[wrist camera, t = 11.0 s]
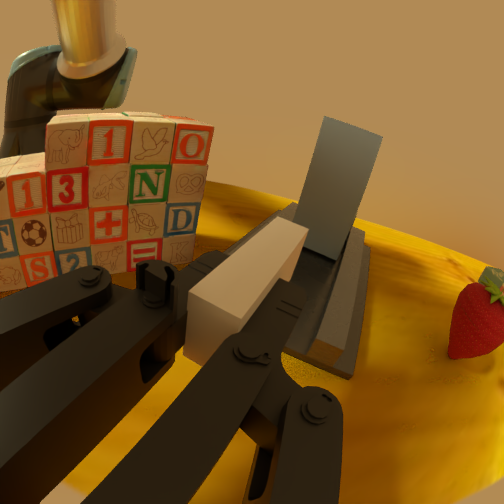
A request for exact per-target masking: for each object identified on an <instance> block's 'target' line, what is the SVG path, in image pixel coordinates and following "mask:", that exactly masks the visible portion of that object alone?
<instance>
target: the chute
mask: <svg viewBox="0 0 504 504" xmlns="http://www.w3.org/2000/svg"><path fill="white" fill-rule="evenodd" d="M297 206H298V204H296V203H294V202H292V203H291V204H290V205H288V206H287V207H286V208H285V209H283V210H282V211H281V210H278V211H277V212H275V213H274V214H273V215H271V216H270V217H269V218H267V219H266V220H265V221H263V222H262V223H261V224H259V225H258V226H257V227H256V228H254V229H253V230H252V231H250V232H249V233H248V234H246V235H245V236H244V237H243V238H241V239H240V240H239V241H237V242H236V243H235V244H234V245H232V246H231V247H230V248H228V249H227V250H226V251H225V252H223V253H224V254H226V255H228V256H231V255H232V254H233V253H234V252H235V251H237V250H238V249H239V248H240V247H241V246H243V245H244V244H245V243H246V242H247V241H249V240H250V239H251V238H252V237H253V236H255V235H256V234H257V233H258V232H259V231H261V230H262V229H263V228H264V227H265V226H267V225H268V224H269V223H270V222H271V221H273V220H274V219H275V218H276V217H281V218H283V219H286V220H288V221H291V222H293V219H294V216H295V212H296V209H297ZM356 215H357V212H356ZM356 215H355V218H356ZM355 218H354V220H355ZM354 220H353V223H354ZM353 223H352V225H353ZM352 225H351V228H350V230H349V233H348V235H347V237H346V240H345V242H344V245H343V247H342V249H341V252H340V254H339V256H338V259H337V261H336V260H334V259H332V258H329V257H327V256H325V255H322V254H320V253H318V252H315V251H313V250H311V249H308V248H306V247H304V246H303V247H302V250H301V253H300V255H299V258H298V261H297V263H296V266H295V269H294V271H293V274H292V277H291V279H290V281H289V282H290V283H292V284H294V285H297V286H299V287H301V288H303V289H305V291H306V297H307V301H306V303H305V305H304V308H303V310H302V312H301V314H300V316H299V318H298V320H297V323H296V325H295V327H294V329H293V331H292V333H291V335H290V337H289V339H288V341H287V343H286V345H285V347H284V348H283V350H282V352H284V353H287V354H289V355H291V356H293V357H295V358H298V359H300V360H302V361H304V362H307V363H309V364H311V365H313V366H316V367H318V368H320V369H323V370H325V371H328V372H330V373H332V374H335V375H337V376H340V377H342V378H345V379H347V380H349V379H350V378H351V377H352V376H353V372H354V367H355V362H356V357H357V352H358V346H359V341H360V335H361V328H362V322H363V315H364V308H365V300H366V292H367V282H368V272H369V260H370V247H368V246H365V245H364V237H365V232H364V231H362V230H360V229H358V228H355V227H353V226H352Z"/></svg>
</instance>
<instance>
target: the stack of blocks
mask: <svg viewBox="0 0 504 504" xmlns="http://www.w3.org/2000/svg"><path fill="white" fill-rule="evenodd" d="M213 132H214V126H212V125H209V124H206V123H203V122H201V121H197V120H194V119H190V118H187V117H177V116H164V115H159V114H155V113H147V112H122V114H121V113H96V114H76V115H61V116H54V117H53V118H52V119H51V120H50V122H49V123H48V124H47V125H46V137H45V152H42V153H36V154H29V155H23V156H22V155H20V156H14V157H8V158H3V159H0V292H4V291H10V290H17V289H23V288H26V287H31V286H34V285H36V284H39V283H41V282H44V281H46V280H49V279H51V278H54V277H57V276H59V275H62V274H65V273H67V272H70V271H73V270H75V269H78V268H81V267H84V266H89V265H97V266H100V267H103V268H105V269H106V270H108V271H109V273H110V274H115V273H122V272H131V271H136V263H138V262H141V261H143V260H150V259H155V260H163V261H165V262H168V263H171V264H172V265H177V264H184V263H190V262H192V259H193V251H194V245H195V238H196V228H197V222H198V216H199V210H200V205H201V200H202V197H203V192H204V186H205V182H206V176H207V170H208V164H207V161H208V156H209V151H210V147H211V142H212V137H213Z"/></svg>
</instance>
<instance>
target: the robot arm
mask: <svg viewBox="0 0 504 504" xmlns="http://www.w3.org/2000/svg"><path fill="white" fill-rule="evenodd" d="M50 1H51V7H52V11H53V16H54V21H55V25H56V29H57V33H58V37H59V41H60V45H51V46H47V47H39V48H36V49H33V50H30V51H27V52H25V53H23V54H21V55H20V56H18V57H17V58H16V59H15V60H14V62H13V63H12V66H11V70H10V75H9V78H8V86H7V95H6V106H5V122H4V135H3V139H2V143H1V147H0V159H3V158H8V157H14V156H20V155H22V156H23V155H29V154H36V153H42V152H45V137H46V125H47V124H48V123H49V122H50V120H51V119H52V118H53V117H54V116H56V112H57V110H72V109H101V110H104V109H108V108H117V107H120V106H121V105H122V103H123V102H124V100H125V97H126V94H127V91H128V88H129V84H130V81H131V77H132V74H133V69H134V66H135V62H136V58H137V50H136V49H134V48H131V47H128V48H126V41H125V38H124V37H123V36H122V34H120V33H119V32H117V31H116V0H50ZM308 230H309V229H308V228H305V227H303V226H300V225H298V224H296V223H293V222H291V221H288V220H286V219H283V218H281V217H276V218H275V219H274V220H273V221H271V222H270V223H269V224H268V225H267V226H265V227H264V228H263V229H262V230H261V231H259V232H258V233H257V234H256V235H255V236H253V237H252V238H251V239H250V240H249V241H247V242H246V243H245V244H244V245H243V246H241V247H240V248H239V249H238V250H237V251H235V252H234V253H233V254H232V255H231V256H228V255H226V254H224V253H222V252H220V251H218V250H215V251H211V252H207V253H204V254H203V255H201V256H200V257H198V258H197V259H196V260H195V261H193V262H192V263H190V264H189V265H188V267H187V266H186V267H185V268H183V269H182V270H181V271H179V272H178V270H177V268H176V267H174V266H173V265H172V264H171V263H168V262H165V261H163V260H155V259H150V260H143V261H141V262H138V263H136V287H137V288H136V289H134V290H131V289H127V288H124V287H121V286H118V285H115V284H112V281H111V275H110V273H109V271H108V270H106V269H105V268H103V267H100V266H97V265H89V266H84V267H81V268H78V269H75V270H73V271H70V272H67V273H65V274H62V275H59V276H57V277H54V278H51V279H49V280H46V281H44V282H41V283H39V284H36V285H34V286H31V287H29V288H26V289H24V290H21V291H19V292H16V293H14V294H11V295H9V296H7V297H4V298H2V299H0V504H40V502H41V501H42V500H43V499H44V498H45V497H46V496H47V495H48V494H49V493H50V492H51V491H52V490H53V489H54V488H55V487H56V486H57V485H58V484H59V483H60V482H61V481H62V480H63V479H64V478H65V477H66V476H67V475H68V474H69V473H70V472H71V471H72V470H73V469H74V468H75V467H76V466H77V465H78V464H79V463H80V462H81V461H82V460H83V459H84V458H85V457H86V456H87V455H88V454H89V453H90V452H91V451H92V450H93V449H94V448H95V447H96V446H97V445H98V444H99V443H100V442H101V441H102V440H103V438H104V437H105V436H106V435H107V434H108V433H109V432H110V431H111V430H112V429H113V428H114V427H115V426H116V425H117V424H118V423H119V422H120V421H121V420H122V419H123V418H124V417H125V416H126V415H127V413H128V412H129V411H130V410H131V409H132V408H133V407H134V406H135V405H136V404H137V403H138V402H139V401H140V400H141V399H142V398H143V397H144V396H145V394H146V393H147V392H148V391H149V390H150V389H151V388H152V387H153V386H154V385H155V384H156V383H157V382H158V381H159V380H160V378H161V377H162V376H163V375H164V374H165V373H166V372H167V371H168V370H169V369H170V368H171V367H172V365H173V363H174V361H175V353H176V352H177V351H178V350H179V349H180V348H181V347H182V346H183V345H184V347H183V355H184V356H186V357H187V358H189V359H191V360H192V361H194V362H196V363H197V364H199V365H201V366H202V368H201V369H200V371H199V372H198V373H197V374H196V375H195V377H194V378H193V379H192V380H191V381H190V383H189V384H188V385H187V386H186V387H185V389H184V390H183V391H182V392H181V393H180V394H179V396H178V397H177V398H176V399H175V400H174V402H173V403H172V404H171V405H170V406H169V407H168V409H167V410H166V411H165V412H164V413H163V414H162V415H161V417H160V418H159V419H158V420H157V421H156V422H155V424H154V425H153V426H152V427H151V428H150V429H149V430H148V431H147V433H146V434H145V435H144V436H143V437H142V438H141V439H140V440H139V442H138V443H137V444H136V445H135V446H134V447H133V448H132V449H131V450H130V452H129V453H128V454H127V455H126V456H125V457H124V458H123V459H122V460H121V461H120V463H119V464H118V465H117V466H116V467H115V468H114V469H113V470H112V471H111V472H110V473H109V474H108V475H107V476H106V478H105V479H104V480H103V481H102V482H101V483H100V484H99V485H98V486H97V487H96V488H95V489H94V490H93V491H92V492H91V493H90V494H89V495H88V496H87V497H86V498H85V499H84V500H83V501H82V502H81V503H80V504H188V503H189V501H190V500H191V499H192V497H193V496H194V495H195V493H196V492H197V490H198V489H199V488H200V486H201V485H202V483H203V482H204V481H205V479H206V478H207V476H208V475H209V473H210V472H211V470H212V469H213V467H214V466H215V465H216V463H217V462H218V460H219V459H220V457H221V455H222V454H223V452H224V451H225V449H226V448H227V446H228V445H229V443H230V442H231V440H232V438H233V437H234V435H235V434H236V432H237V430H238V429H239V427H240V428H241V429H242V430H243V431H244V432H245V433H246V434H247V435H248V436H249V437H250V438H251V439H252V440H253V441H254V442H256V443H257V446H256V450H255V454H254V458H253V463H252V467H251V471H250V475H249V479H248V483H247V487H246V491H245V495H244V498H243V502H242V504H338V500H339V490H340V478H341V463H342V441H343V412H342V407H341V404H340V403H339V401H338V400H337V398H336V397H335V396H334V395H333V394H332V393H330V392H329V391H328V390H325V389H323V388H320V387H314V386H307V387H304V388H302V387H301V386H300V385H298V384H297V383H296V382H295V381H294V380H292V379H291V377H290V376H289V375H288V374H287V373H286V372H285V370H284V368H283V366H282V362H281V353H282V350H283V348H284V347H285V345H286V343H287V341H288V339H289V337H290V335H291V333H292V331H293V329H294V327H295V325H296V323H297V320H298V318H299V316H300V314H301V312H302V310H303V308H304V305H305V303H306V301H307V297H306V291H305V289H303V288H301V287H299V286H297V285H294V284H292V283H290V282H289V281H290V279H291V277H292V274H293V271H294V269H295V266H296V263H297V261H298V258H299V255H300V253H301V250H302V247H303V244H304V242H305V239H306V236H307V233H308ZM77 315H78V318H79V321H78V322H75V321H73V320H72V318H73V317H75V316H77Z"/></svg>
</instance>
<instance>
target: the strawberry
mask: <svg viewBox="0 0 504 504" xmlns="http://www.w3.org/2000/svg"><path fill="white" fill-rule="evenodd" d="M484 277H485V279H486V280H487V282H488V283H486V282H484V281H482V280H480V279H479V281H480V282H481V283H482V284H484V285H485V286H484V285H482V284H480V283H477V282H476V283H472V284H468V285H467V286H466V287H465V288H464V289H463V290H462V291H461V292H460V294H459V296H458V299H457V302H456V304H455V307H454V310H453V314H452V321H451V328H450V337H449V346H448V355H449V357H450V358H451V359H460V358H473V357H477V356H481V355H485V354H488V353H490V352H491V351H493V350H494V349H496V348H497V347H498V346H500V345H501V344H502V343H503V342H504V295H503V296H500V295H502V292H503V291H504V289H503V290H502V292H501V291H500V289H499V288H498V286H497V285H496V284H494V283H493V282H492V281H491V280H490V279H489V278H487V277H486V276H484Z"/></svg>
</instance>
